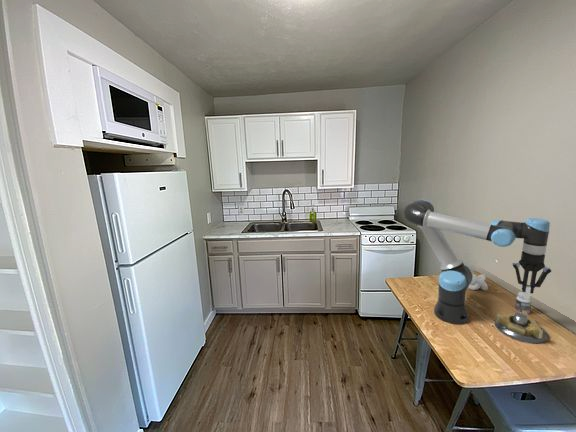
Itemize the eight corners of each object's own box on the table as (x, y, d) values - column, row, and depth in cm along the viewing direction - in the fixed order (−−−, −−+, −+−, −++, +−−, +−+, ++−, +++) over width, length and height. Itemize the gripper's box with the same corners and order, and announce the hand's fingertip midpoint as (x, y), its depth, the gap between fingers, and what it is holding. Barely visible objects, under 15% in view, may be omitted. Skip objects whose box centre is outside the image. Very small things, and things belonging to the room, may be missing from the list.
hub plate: (499, 337, 111) (500, 334, 110) (490, 315, 126) (490, 312, 126) (554, 348, 102) (555, 344, 102) (537, 322, 117) (537, 319, 117)
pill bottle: (513, 307, 130) (515, 290, 128) (527, 309, 128) (529, 292, 126) (517, 313, 125) (518, 296, 123) (531, 315, 123) (534, 298, 121)
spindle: (514, 331, 113) (515, 317, 112) (511, 325, 117) (512, 312, 116) (527, 334, 111) (529, 319, 109) (523, 328, 115) (525, 314, 113)
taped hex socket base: (540, 341, 104) (541, 332, 103) (493, 324, 117) (494, 316, 116) (547, 326, 112) (548, 317, 111) (503, 311, 125) (504, 303, 124)
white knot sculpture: (467, 292, 148) (467, 278, 147) (461, 282, 159) (461, 270, 157) (489, 293, 144) (490, 280, 142) (481, 284, 155) (482, 271, 153)
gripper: (552, 251, 109) (544, 298, 114) (513, 247, 117) (507, 291, 122) (556, 257, 103) (547, 306, 108) (514, 252, 111) (508, 298, 116)
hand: (526, 298), depth 115 cm, fingers closed
